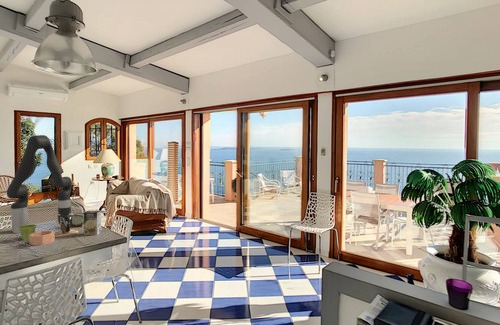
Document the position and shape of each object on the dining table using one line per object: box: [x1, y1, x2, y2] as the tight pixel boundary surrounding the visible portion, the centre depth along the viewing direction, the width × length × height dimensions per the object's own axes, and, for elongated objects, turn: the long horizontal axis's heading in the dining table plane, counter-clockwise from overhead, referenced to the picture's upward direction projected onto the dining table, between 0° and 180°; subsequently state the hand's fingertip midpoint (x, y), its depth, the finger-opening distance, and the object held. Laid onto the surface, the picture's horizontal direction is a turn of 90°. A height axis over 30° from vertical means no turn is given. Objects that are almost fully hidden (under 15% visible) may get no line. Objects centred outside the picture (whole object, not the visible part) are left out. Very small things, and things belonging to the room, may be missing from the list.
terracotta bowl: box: [28, 230, 56, 246], centre depth 184 cm, size 12×12×6 cm
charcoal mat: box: [55, 230, 84, 241], centre depth 200 cm, size 17×17×1 cm
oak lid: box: [54, 224, 79, 238], centre depth 200 cm, size 15×15×7 cm
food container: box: [69, 212, 84, 228], centre depth 222 cm, size 12×6×10 cm, turn 84°
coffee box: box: [83, 210, 102, 236], centre depth 201 cm, size 9×6×16 cm
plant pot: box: [19, 224, 38, 241], centre depth 191 cm, size 9×9×9 cm
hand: (65, 230), depth 200 cm, fingers open, 5 cm apart
